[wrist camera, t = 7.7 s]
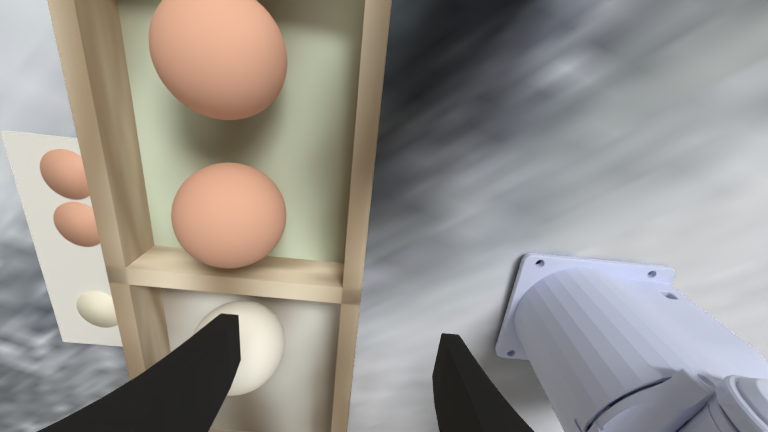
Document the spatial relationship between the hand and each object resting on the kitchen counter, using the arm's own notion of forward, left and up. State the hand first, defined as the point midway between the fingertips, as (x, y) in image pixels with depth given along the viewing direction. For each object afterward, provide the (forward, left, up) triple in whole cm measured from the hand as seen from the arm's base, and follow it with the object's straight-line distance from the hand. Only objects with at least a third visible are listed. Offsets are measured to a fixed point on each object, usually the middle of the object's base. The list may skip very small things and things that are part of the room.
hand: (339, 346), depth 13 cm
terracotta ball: (+6, -2, -6) cm, 9 cm away
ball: (+6, -9, -6) cm, 12 cm away
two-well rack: (+6, +2, -9) cm, 11 cm away
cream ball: (+6, +6, -6) cm, 10 cm away
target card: (+16, +3, -9) cm, 19 cm away
